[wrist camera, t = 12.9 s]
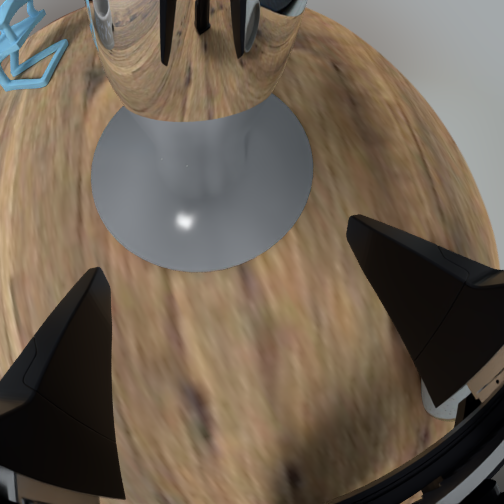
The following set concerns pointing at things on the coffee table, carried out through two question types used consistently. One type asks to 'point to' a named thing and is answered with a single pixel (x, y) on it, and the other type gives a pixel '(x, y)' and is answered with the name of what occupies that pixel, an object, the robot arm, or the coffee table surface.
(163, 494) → the coffee table surface
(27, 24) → the chair
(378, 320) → the coffee table surface
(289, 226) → the coaster board
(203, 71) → the chrome tumbler cup
